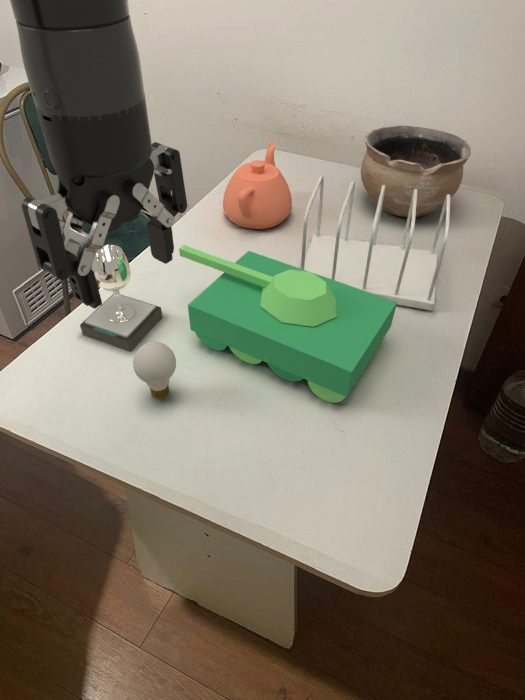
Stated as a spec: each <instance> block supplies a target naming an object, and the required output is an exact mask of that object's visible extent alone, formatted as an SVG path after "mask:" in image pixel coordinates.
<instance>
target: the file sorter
mask: <svg viewBox="0 0 525 700" xmlns="http://www.w3.org/2000/svg"><path fill="white" fill-rule="evenodd" d="M324 185H325V178H324V176H322V175H320V176H319V177H318V179H317V182H316V184H315V186H314V188H313V190H312V193H311V195H310V197H309V200H308V202H307V205H306V208H305V212H304V217H303V225H302V227H303V228H302V244H301V258H300V259H301V261H300V267H299V268H300V269H303V270H306V271H309V272H312V273H315V274H318V275H320V276H323V277H326V278H329V279H332V280H335V281H338V282H341V283H344V284H346V285H349V286H352V287H355V288H358V289H361V290H364V291H367V292H370V293H372V294H375V295H378V296H381V297H384V298H387V299H390V300H393V301H396V302H397V305H398V306H402V307H403V306H404V307H409V308H416V309H421V310H427V311H433V310H434V308H435V302H436V287H437V286H436V285H437V278H438V275H439V271H440V268H441V265H442V261H443V257H444V254H445V250H446V246H447V242H448V238H449V233H450V218H451V198H450V195H448V194H447V195H446V198H445V201H444V205H442V209H441V212H440V216H439V220H438V224H437V227H436V231H435V235H434V239H433V243H432V246H431V250H429V249H422V248H414V247H411V246H412V241H413V236H414V231H415V225H416V224H415V223H416V217H415V215H416V203H417V189H414V191H413V195H412V200H411V204H410V209H409V214H408V217H407V218H406V223H405V229H404V234H403V238H402V244H401V245H395V244H388V243H381V242H377V238H378V233H379V226H380V221H381V214H382V211H383V210H382V204H383V199H384V193H385V185H382V189H381V193H380V197H379V201H378V205H376V209H375V214H374V218H373V224H372V228H371V234H370V240H369V241H368V240H362V239H356V238H355V239H354V238H349V230H350V223H351V216H352V209H353V203H354V196H355V189H356V188H355V187H356V181H355V180H352V181H351V182H350V184H349V187H348V190H347V193H346V196H345V199H344V200H343V201H344V202H343V204H342V208H341V210H340V214H339V218H338V222H337V227H336V235H335V236H334V235H329V234H322V233H321V223H322V209H323V201H324V200H323V199H324V187H325V186H324ZM318 191H319V199H318V200H319V201H318V214H317V228H316V229H317V230H316V233H313V235H312V238H311V240H310V243H309V245H308V248H307V251H306V247H307V233H308V229H307V228H308V220H309V214H310V210H311V206H312V204H313V202H314V200H315V198H316V195H317V192H318ZM348 203H349V204H348ZM347 207H348V212H347V218H346V225H345V232H344V233H345V234H344V237H342V236H341V229H342V224H343V219H344V215H345V212H346V209H347ZM411 215H412V217H411ZM444 217H445V224H444V225H445V227H444V235H443V240H442V243H441V248H440V252H439V255H438V251H436V246H437V243H438V240H439V235H440V231H441V228H442V224H443V220H444ZM408 233H409V234H408ZM407 238H408V240H407ZM397 305H396V306H397Z"/></svg>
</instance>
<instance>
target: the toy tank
mask: <svg viewBox="0 0 525 700" xmlns="http://www.w3.org/2000/svg"><path fill="white" fill-rule="evenodd" d="M178 252H179V257H183V258H185V259H188V260H191V261H193V262H195V263H197V264H201V265H203V266H206V267H209V268H212V269H214V270H217V271H219V272H223V273H222V274H221V275H220V276H219V277H217V278H216V279H215V280H214V281H213V282H212V283H211V284H210V285H208V286H207V287H206V288H205V289H204V290H203V291H201V292H200V293H199V294H198V295H197V296H196V297H195V298H193V299H192V300H191V301H190V303H188V304H187V311H188V319H189V328H190V331H192V332H194V333H195V335H196V336H197V338H198V339H199V341H200V342H201V343H202V344H203V345H205V346H206V347H207V348H209V349H210V350H213V351H216V352H218V351H219V352H221V351H224V350H226V348H229V349H230V351H231V352H232V353H233V354H234V355H235V357H237V358H238V359H239V360H241V361H243V362H244V363H247V364H250V365H258V364H261V362H264V363H266V364H267V365H268V367H269V368H270V369H271V370H272V372H273V373H274V374H275V375H277V376H278V377H280V378H281V379H283V380H286V381H289V382H295V383H296V382H299V381H302V380H303V379H304V380H305V381H307V384H308V386H309V389H310V390H311V391H312V393H313V394H314V395H315V396H316V397H318V398H319V399H320V400H322V401H324V402H328V403H330V404H331V403H332V404H333V403H334V404H336V403H340V402H342V401H343V400H344V399H345V398H348V396H349V394H350V393H351V391H352V389H353V388H354V386H355V385H356V383H357V382H358V381H359V378H360V377H361V375H362V373H363V372H364V370H365V369H366V367H367V366H368V364H369V362H370V361H371V360H372V357H374V354H375V353H376V351H377V350H378V348H379V347H380V345H381V343H382V342H383V340H384V339H385V337H386V335H387V334H388V333H389V331H390V329H391V327H392V325H393V324H392V323H393V320H394V316H395V313H396V308H397V302H396V301H393V300H390V299H387V298H384V297H381V296H378V295H375V294H372V293H370V292H367V291H364V290H361V289H358V288H355V287H352V286H349V285H346V284H344V283H341V282H338V281H335V280H332V279H329V278H326V277H323V276H320V275H318V274H315V273H312V272H309V271H306V270H303V269H300V268H301V267H297V266H294V265H292V264H288V263H285V262H283V261H279V260H277V259H274V258H272V257H268V256H265V255H263V254H259V253H257V252H254V251H251V250H247V252H245V253H244V254H242V256H241V257H240V258H238V260H236V261H235V262H233V261H230V260H227V259H224V258H221V257H219V256H216V255H214V254H210V253H208V252H205V251H202V250H199V249H196V248H194V247H190V246H188V245H185V244H183V245H182V246H181V247H179V248H178Z"/></svg>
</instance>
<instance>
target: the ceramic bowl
mask: <svg viewBox="0 0 525 700" xmlns="http://www.w3.org/2000/svg"><path fill="white" fill-rule="evenodd" d="M363 141H364V143H365V146H366V151H365V154H364V156H363V158H362V161H361V167H360V180H361V182H362V185H363V187H364V190H365V192H366V193H367V195H368V197H369V198H370V199H371V201H372V202H373V203H374V205H376V206H377V205H378V201H379V197H380V193H381V189H382V185H385V193H384V199H383V204H382V210H381V211H384V212H386V213H387V214H390V215H392V216H397V217H401V218H408V214H409V209H410V204H411V200H412V195H413V191H414V189H417V203H416V215H415V218H419V217H423V216H426V215H428V214H430V213H432V212H434V211H436V210H438V209H440V208H441V207H443V205H444V201H445V198H446V195H447V194H448V195H450V199H451V198H452V197H454V195H455V194H456V193H457V192H458V190H459V188H460V186H461V183H462V181H463V177H464V165H465V164H466V162H467V161H468V160H469V158H470V157H471V154H472V151H471V145H469V143H468V142H467V140H465V139H463V138H461V137H460V136H458V135H456V134H453V133H450V132H447V131H445V130H439V129H436V128H435V129H434V128H428V127H421V126H412V125H395V126H382V127H380V128H377V129H372V130H371V131H370V132H368V133H367V134H366V135H365V136H364V139H363ZM411 218H412V215H411Z"/></svg>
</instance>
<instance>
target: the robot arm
mask: <svg viewBox="0 0 525 700" xmlns="http://www.w3.org/2000/svg"><path fill="white" fill-rule="evenodd" d="M9 2H10V6H11V10H12V14H13V15H14V16H13V17H14V19H15V24H16V28H17V33H18V39H19V47H20V53H21V59H22V63H23V67H24V71H25V74H26V78H27V82H28V85H29V89H30V92H31V96H32V101H33V103H34V108H35V110H36V114H37V117H38V121H39V125H40V128H41V131H42V135H43V138H44V142H45V145H46V149H47V152H48V156H49V157H48V158H49V159H50V162H51V165H52V167H53V168H54V170H55V173H56V175H57V179H58V181H57V183H58V184H57V185H58V186H57V191H56V193H55V194H52V195H49V196H47V197H45V198H41V199H36V198H35V197H32V196H28V197H25V198H24V199H23V200H22V203H21V209H22V213H23V216H24V220H25V223H26V227H27V230H28V234H29V238H30V241H31V245H32V249H33V252H34V256H35V259H36V263H37V266H38V268H39V269H41V270H43V271H44V272H48V273H49V274H50V275H52V276H53V277H55V278H56V279H58V280H59V281H65V280H67V279H68V283H69V285H70V288H71V291H72V295H73V298H75V299H76V300H77V301H79V302H80V303H82V304H83V305H85V306H87V307H90V308H92V309H95V310H96V309H98V308H99V307H100V306H101V305H102V304H103V300H102V297H101V293H100V290H99V286H98V285H97V281H96V278H95V274H94V271H92V269H91V266H92V263H93V260H94V257H95V254H96V252H97V251H98V250H100V249H102V247H103V246H104V245H105V241H106V238H107V237H108V236H107V235H108V233H112V232H115V231H116V230H118V229H119V228H120V227H121V226H123V224H125V223H126V224H127V223H130V222H133V221H135V220H137V219H139V214H140V213H141V215H143V216H144V217H145V218H147V219H148V220H149V221H147V222H146V223H145V224H146V230H147V236H148V243H149V247H150V254H151V256H152V257H153V258H154V259H155V260H157V261H158V262H160V263H163V264H164V265H166V264H169V263H170V262H171V261H173V257H174V256H173V254H174V251H175V243H174V239H173V238H174V236H173V227H172V226H174V223H175V217H176V216H177V215H178V214H184V213H185V212H186V211H187V208H188V201H187V194H186V193H187V192H186V185H185V180H184V174H183V166H182V159H181V153H180V151H179V150H178V149H176V148H173V147H170V146H168V145H166V144H162V143H160V142H157V141H154V142H152V137H151V130H150V123H149V115H148V109H147V107H148V106H147V101H146V94H145V93H146V92H145V87H144V86H145V85H144V80H143V73H142V65H141V58H140V52H139V48H138V43H137V40H136V36H135V33H134V29H133V24H132V20H131V15H130V7H129V0H9ZM153 178H154V180H155V187H156V192H157V195H158V198H157V197H156V196H154V195H153V194H152V193H151V192H150V190H149V189H150V186H151V183H152V180H153ZM66 211H68V214H67V218H66V220H65V221H64V213H65V212H66ZM84 224H86V225H87V226H89V227H90V231H89V233H87V232H85V231H84V230H83V225H84ZM62 228H63V233H62ZM63 235H64V236H63ZM63 237H64V238H63Z"/></svg>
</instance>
